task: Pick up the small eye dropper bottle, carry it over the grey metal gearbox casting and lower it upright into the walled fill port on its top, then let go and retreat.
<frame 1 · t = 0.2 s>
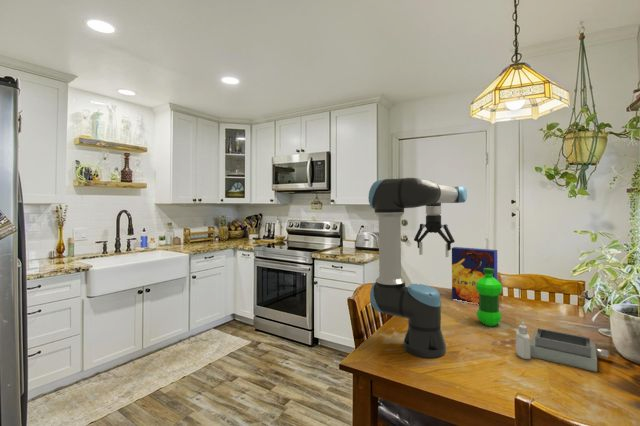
hand: (433, 255, 167), 28 cm above the table, fingers open, 13 cm apart
plastic bottle: (488, 324, 145), on the table
cereal box: (474, 303, 177), on the table
gearbox: (562, 355, 115), on the table
eye dropper bottle: (523, 356, 114), on the table
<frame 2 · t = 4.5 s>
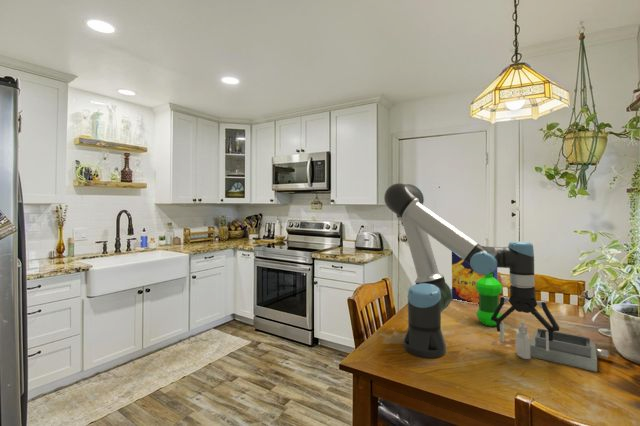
hand: (524, 345, 114), 4 cm above the table, fingers open, 13 cm apart
nothing on the table moved.
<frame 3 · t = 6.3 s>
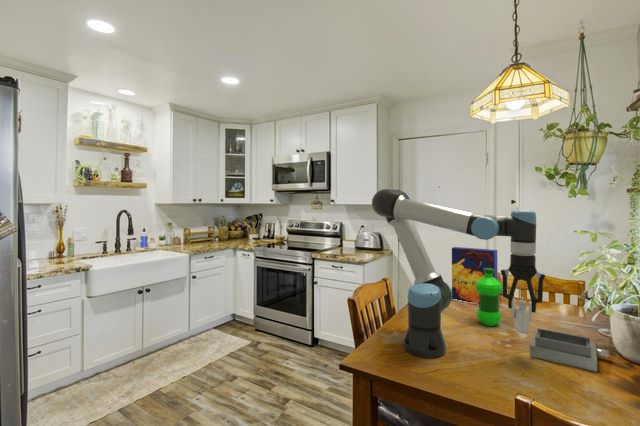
hand: (521, 319, 114), 13 cm above the table, fingers closed on eye dropper bottle, 4 cm apart
eye dropper bottle: (520, 331, 114), point 9 cm above the table, touching gripper
everything else where it was.
when the fingers open (6 cm above the table, at t = 9.0 s): eye dropper bottle stays where it is, resting on gearbox.
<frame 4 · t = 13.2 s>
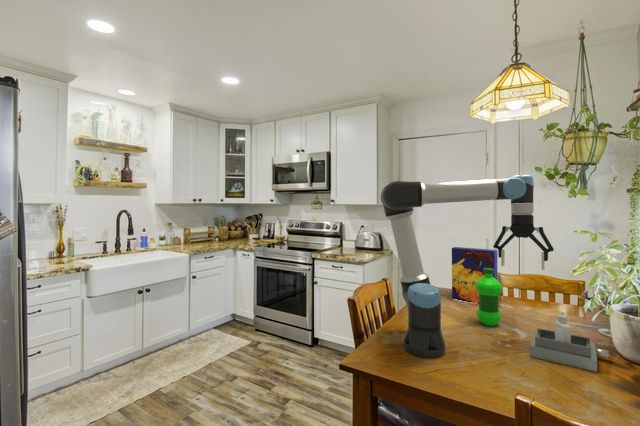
hand: (522, 267, 128), 29 cm above the table, fingers open, 13 cm apart
eye dropper bottle: (562, 346, 113), point 4 cm above the table, touching gearbox
everything else where it was.
at the end: eye dropper bottle inside the target area on the gearbox (0.1 cm from its centre), point 3.8 cm above the gearbox's base; eye dropper bottle tilted 0°; the gripper is holding nothing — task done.
